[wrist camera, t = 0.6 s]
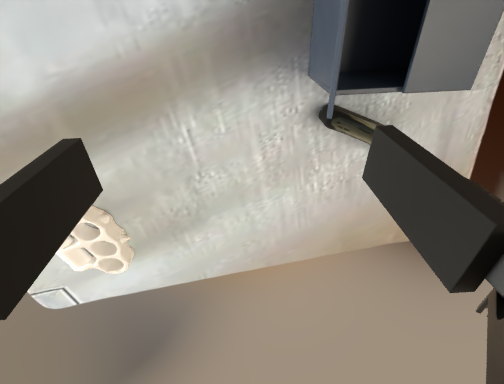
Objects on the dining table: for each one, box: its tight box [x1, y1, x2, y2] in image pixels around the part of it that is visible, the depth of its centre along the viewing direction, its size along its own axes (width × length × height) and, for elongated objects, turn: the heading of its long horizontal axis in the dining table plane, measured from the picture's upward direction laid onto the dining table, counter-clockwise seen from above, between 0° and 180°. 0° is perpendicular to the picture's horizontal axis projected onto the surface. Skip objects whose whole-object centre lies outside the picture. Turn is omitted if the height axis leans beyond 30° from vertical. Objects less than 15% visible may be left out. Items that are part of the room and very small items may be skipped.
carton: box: [308, 0, 504, 95], centre depth 27 cm, size 14×13×11 cm
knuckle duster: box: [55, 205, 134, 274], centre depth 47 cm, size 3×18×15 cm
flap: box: [327, 0, 349, 119], centre depth 20 cm, size 7×13×1 cm
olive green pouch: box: [318, 105, 384, 145], centre depth 37 cm, size 5×3×15 cm
